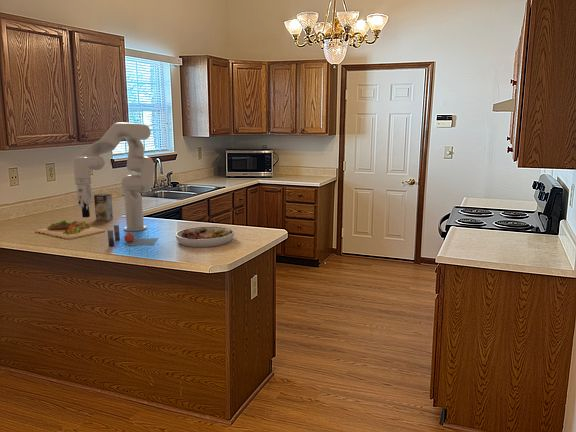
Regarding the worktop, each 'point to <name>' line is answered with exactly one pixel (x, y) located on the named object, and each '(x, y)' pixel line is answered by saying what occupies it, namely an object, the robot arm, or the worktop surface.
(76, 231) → the wooden food tray
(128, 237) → the ball
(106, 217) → the coffee box
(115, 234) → the post
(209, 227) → the bowl
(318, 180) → the worktop surface
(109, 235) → the post
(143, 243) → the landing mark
